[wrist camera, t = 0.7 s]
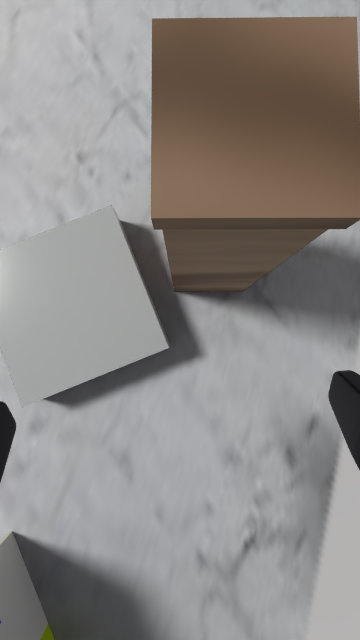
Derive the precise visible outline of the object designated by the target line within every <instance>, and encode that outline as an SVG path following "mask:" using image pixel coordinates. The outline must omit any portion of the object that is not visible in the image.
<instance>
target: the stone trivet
mask: <svg viewBox="0 0 360 640" xmlns="http://www.w3.org/2000/svg"><path fill="white" fill-rule="evenodd" d="M169 347H170V344H169V341H168V339H167V336H166V334H165V331H164V329H163V326H162V324H161V321H160V319H159V316H158V314H157V311H156V309H155V306H154V304H153V301H152V299H151V296H150V294H149V291H148V289H147V286H146V284H145V281H144V279H143V276H142V274H141V271H140V269H139V266H138V264H137V261H136V259H135V256H134V254H133V251H132V249H131V246H130V244H129V241H128V239H127V236H126V234H125V231H124V229H123V226H122V224H121V221H120V219H119V218H118V216H117V214H116V212H115V210H114V208H113V206H112V205H111V206H109V207H106V208H104V209H101V210H98V211H96V212H93V213H91V214H88V215H86V216H83V217H81V218H78V219H76V220H73V221H71V222H68V223H66V224H63V225H61V226H58V227H56V228H53V229H51V230H48V231H46V232H43V233H41V234H38V235H36V236H33V237H31V238H28V239H26V240H23V241H20V242H18V243H15V244H13V245H10V246H8V247H5V248H3V249H0V350H1V352H2V355H3V358H4V360H5V363H6V366H7V369H8V371H9V374H10V377H11V379H12V382H13V385H14V388H15V390H16V393H17V396H18V398H19V401H20V404H21V407H24V406H27V405H29V404H32V403H34V402H37V401H39V400H41V399H44V398H46V397H49V396H51V395H54V394H56V393H59V392H61V391H64V390H66V389H69V388H71V387H74V386H76V385H79V384H81V383H84V382H86V381H88V380H91V379H93V378H96V377H98V376H101V375H103V374H106V373H108V372H111V371H113V370H116V369H118V368H121V367H123V366H126V365H128V364H130V363H133V362H135V361H138V360H140V359H143V358H145V357H148V356H150V355H153V354H155V353H158V352H160V351H163V350H165V349H168V348H169Z"/></svg>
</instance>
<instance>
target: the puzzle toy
mask: <svg viewBox="0 0 360 640" xmlns="http://www.w3.org/2000/svg"><path fill="white" fill-rule="evenodd" d="M0 640H55V639H54V637H53V634H52V631H51V629H50V626H49V624H48V621H47V619H46V616H45V614H44V611H43V609H42V606H41V603H40V601H39V598H38V596H37V593H36V591H35V588H34V586H33V583H32V581H31V578H30V575H29V573H28V570H27V568H26V565H25V563H24V560H23V558H22V555H21V552H20V550H19V547H18V545H17V542H16V540H15V537H14V535H13V532H9V533H7V534H5V535H3V536H0Z"/></svg>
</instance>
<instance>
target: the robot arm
mask: <svg viewBox="0 0 360 640" xmlns="http://www.w3.org/2000/svg"><path fill="white" fill-rule="evenodd" d="M329 401H330V404H331V407H332V409H333V411H334V414H335V416H336V419H337V421H338V423H339V426H340V428H341V431H342V433H343V436H344V438H345V440H346V443H347V445H348V448H349V450H350V452H351V454H352V456H353V458H354V460H355V462H356V464H357V466H358V468H359V470H360V375H359V374H357V373H355V372H353V371H351V370H346V371H337V372H335V373H334V374H333V377H332V381H331V385H330V389H329ZM15 431H16V422H15V419H14V418H13V416H12V414H11V412H10V410H9V408H8V406H7V405H6V403H4V402H2V401H0V482H1V479H2V476H3V472H4V469H5V465H6V462H7V459H8V455H9V452H10V448H11V445H12V441H13V438H14V434H15Z"/></svg>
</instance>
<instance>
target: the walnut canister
mask: <svg viewBox="0 0 360 640" xmlns="http://www.w3.org/2000/svg"><path fill="white" fill-rule="evenodd" d="M151 220H152V224H153V227H154V229H163V235H164V240H165V245H166V250H167V256H168V261H169V266H170V271H171V277H172V282H173V287H174V291H244V290H245V289H247V288H248V287H249V286H251V285H252V284H254V283H255V282H256V281H258V280H259V279H260V278H262V277H263V276H265V275H266V274H267V273H269V272H270V271H271V270H273V269H274V268H276V267H277V266H278V265H280V264H281V263H283V262H284V261H285V260H287V259H288V258H289V257H291V256H292V255H294V254H295V253H296V252H298V251H299V250H300V249H302V248H303V247H305V246H306V245H307V244H309V243H310V242H311V241H313V240H314V239H316V238H317V237H318V236H320V235H321V234H322V233H324V232H325V231H327V230H328V229H346V228H348V227H349V226H351V225H353V224H354V223H356V222H357V221H359V220H360V102H359V71H358V40H357V17H277V18H168V19H152V142H151Z"/></svg>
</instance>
